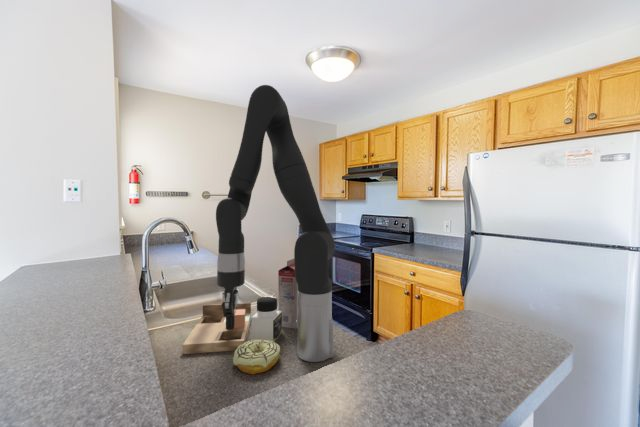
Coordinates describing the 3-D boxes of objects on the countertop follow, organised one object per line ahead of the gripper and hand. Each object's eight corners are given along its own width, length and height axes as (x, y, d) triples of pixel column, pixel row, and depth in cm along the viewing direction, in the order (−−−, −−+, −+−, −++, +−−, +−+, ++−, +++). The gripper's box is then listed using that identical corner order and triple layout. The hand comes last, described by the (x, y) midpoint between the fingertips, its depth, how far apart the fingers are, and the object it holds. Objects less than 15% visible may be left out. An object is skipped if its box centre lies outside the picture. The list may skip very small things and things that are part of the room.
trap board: (250, 319, 99) (250, 302, 99) (244, 349, 77) (244, 328, 77) (203, 321, 96) (203, 304, 96) (182, 354, 75) (182, 331, 74)
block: (245, 321, 91) (245, 308, 91) (244, 327, 86) (244, 314, 86) (229, 322, 90) (229, 310, 90) (227, 328, 85) (227, 315, 85)
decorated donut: (225, 374, 66) (225, 357, 66) (244, 350, 77) (244, 335, 77) (271, 378, 64) (271, 360, 64) (284, 352, 76) (284, 337, 76)
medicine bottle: (273, 343, 81) (273, 302, 81) (250, 341, 82) (250, 300, 82) (281, 333, 88) (282, 295, 88) (260, 331, 89) (260, 293, 89)
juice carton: (278, 326, 93) (278, 260, 93) (286, 318, 99) (287, 257, 99) (296, 328, 91) (296, 261, 91) (304, 321, 97) (304, 258, 97)
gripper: (241, 273, 74) (240, 338, 74) (247, 263, 87) (246, 318, 87) (211, 273, 72) (210, 339, 73) (222, 263, 86) (221, 319, 86)
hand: (230, 328), depth 80 cm, fingers closed
